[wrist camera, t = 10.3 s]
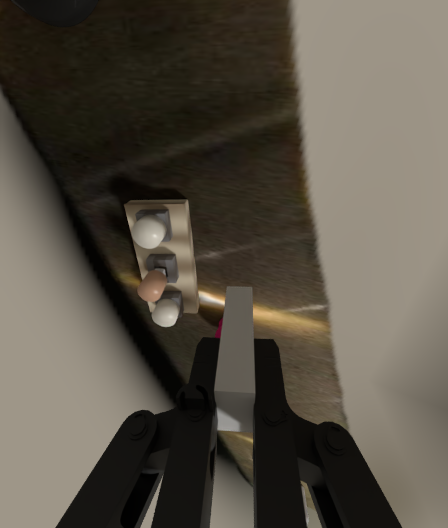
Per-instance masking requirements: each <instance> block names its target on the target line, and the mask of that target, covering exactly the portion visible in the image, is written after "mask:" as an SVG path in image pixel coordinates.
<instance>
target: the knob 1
mask: <svg viewBox="0 0 448 528" xmlns="http://www.w3.org/2000/svg"><path fill="white" fill-rule="evenodd" d="M166 232H167V229H166V225H165V223H164V222H163V220H162V219H161V218H159V217H158V216H155V215H145V216H143V217H142V218H141V219H140V220H138V221H137V222H136V223H135V224H134V225H133V227H132V230H131V234H132V237H133V239H134V241H135V242H136V243H137V244H138V245H139V246H141V247H143V248H147V249H152V248H155V247H157V246H158V245H159V244H160V242H161V241H162V240H163V238H164V237H165V235H166Z"/></svg>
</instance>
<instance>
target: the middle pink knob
mask: <svg viewBox="0 0 448 528" xmlns="http://www.w3.org/2000/svg"><path fill="white" fill-rule="evenodd" d="M166 284H167V277H166V274H165V269H155V270H152V271H150V272H148V273H147V275H146V276H145V278H144V279H143V281H142V282H141V284H140V285H139V287H138V290H137V291H138V294H139V296H140V297H141V298H142V299H144V300H145V301H149V302H154V301H157V300H158V299H159V298H160V296H161V294H162V292H163V290H164V288H165V286H166Z"/></svg>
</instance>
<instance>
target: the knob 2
mask: <svg viewBox="0 0 448 528" xmlns="http://www.w3.org/2000/svg"><path fill="white" fill-rule="evenodd" d="M179 311H180V307H179V305H178V304H177V303H176V302H175V301H173V300H171V299H161V300H159V301H158V303H157V305H156V307H155V309H154V311H153V312H152V319H153V320H154V322H155V323H156V324H158V325H160V326H164V327H169V326H172V325H174V324H175V322H176V320H177V317H178V314H179Z"/></svg>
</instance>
